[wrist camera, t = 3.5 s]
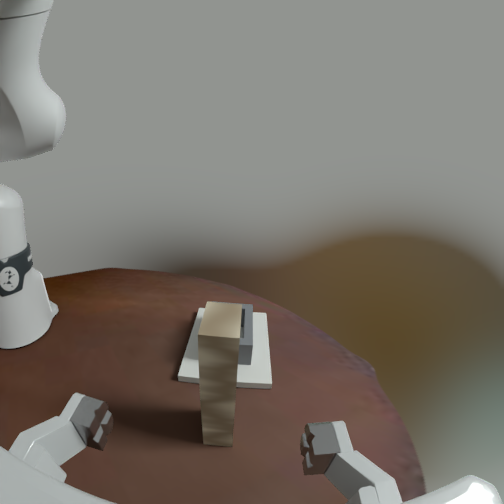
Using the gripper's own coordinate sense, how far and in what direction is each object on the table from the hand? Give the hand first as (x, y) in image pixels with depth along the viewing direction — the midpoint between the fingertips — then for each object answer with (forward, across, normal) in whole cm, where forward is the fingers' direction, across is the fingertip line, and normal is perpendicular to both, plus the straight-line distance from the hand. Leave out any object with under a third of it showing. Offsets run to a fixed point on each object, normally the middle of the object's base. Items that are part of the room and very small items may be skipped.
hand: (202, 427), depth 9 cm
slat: (+12, 0, +17) cm, 21 cm away
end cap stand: (+28, 0, +17) cm, 33 cm away
